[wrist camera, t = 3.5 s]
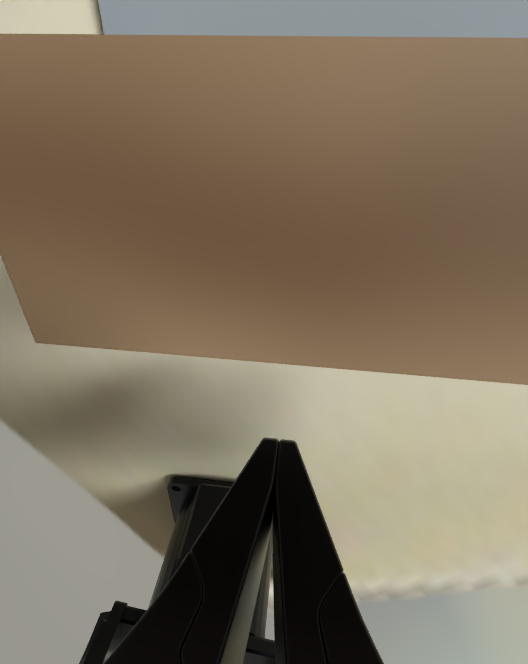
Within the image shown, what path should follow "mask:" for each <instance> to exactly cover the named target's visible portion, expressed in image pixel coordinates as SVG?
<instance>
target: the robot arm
mask: <svg viewBox="0 0 528 664" xmlns="http://www.w3.org/2000/svg"><path fill="white" fill-rule="evenodd" d="M167 488H168V493H169V498H170V502H171V507H172V512H173V517H174V521H175V527H174V530H173V533H172V536H171V539H170V543H169V546H168V549H167V552H166V555H165V558H164V561H163V564H162V567H161V571H160V574H159V577H158V580H157V583H156V586H155V589H154V593H153V595H152V599H151V602H150V605H149V608H148V610H142V609H138V608H134V607H130V606H127V603H124V602H120V601H115V603H114V606H113V608H112V610H111V611H109V612H103V613H101V614H100V617H99V619H98V621H97V623H96V626H95V628H94V631H93V633H92V636H91V638H90V641H89V643H88V645H87V648H86V650H85V652H84V655H83V657H82V659H81V661H80V663H79V664H384V663H383V661H382V659H381V657H380V655H379V653H378V651H377V649H376V647H375V644H374V642H373V640H372V638H371V636H370V634H369V631H368V630H367V627H366V625H365V623H364V621H363V619H362V616H361V614H360V611H359V609H358V606H357V604H356V601H355V599H354V596H353V594H352V591H351V588H350V586H349V583H348V580H347V578H346V575H345V574H344V573H343V567H342V565H341V562H340V559H339V557H338V554H337V551H336V549H335V546H334V543H333V541H332V538H331V535H330V532H329V530H328V527H327V524H326V522H325V519H324V516H323V514H322V511H321V508H320V505H319V503H318V500H317V497H316V495H315V492H314V489H313V487H312V484H311V481H310V479H309V476H308V473H307V470H306V468H305V465H304V462H303V460H302V457H301V454H300V452H299V449H298V446H297V444H296V442H295V441H293V440H284V439H282V440H280V441H279V440H278V439H274V438H263V439H262V441H261V442H260V444H259V445H258V447H257V448H256V450H255V451H254V453H253V454H252V456H251V457H250V459H249V460H248V462H247V463H246V465H245V467H244V468H243V470H242V471H241V473H240V474H239V476H238V477H237V479H236V480H235V482H234V483H226V482H217V481H208V480H200V479H191V478H182V477H172V478H171V479H170V481H169V483H168V487H167ZM272 556H273V584H274V627H275V629H274V630H275V641H273V640H269V639H265V628H266V618H267V607H268V596H269V586H270V575H271V565H272Z"/></svg>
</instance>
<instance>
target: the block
mask: <svg viewBox="0 0 528 664" xmlns="http://www.w3.org/2000/svg"><path fill="white" fill-rule="evenodd" d="M0 254H1V256H2V259H3V262H4V264H5V267H6V269H7V272H8V274H9V277H10V279H11V282H12V284H13V287H14V289H15V292H16V294H17V297H18V299H19V302H20V304H21V307H22V309H23V312H24V315H25V317H26V320H27V322H28V325H29V327H30V330H31V332H32V335H33V337H34V340H35V342H36V343H45V344H57V345H68V346H80V347H92V348H104V349H115V350H127V351H139V352H150V353H162V354H174V355H185V356H197V357H209V358H220V359H232V360H244V361H256V362H267V363H279V364H291V365H302V366H314V367H326V368H337V369H349V370H361V371H372V372H384V373H396V374H407V375H419V376H431V377H443V378H454V379H466V380H478V381H489V382H501V383H513V384H524V385H528V38H483V37H353V36H223V35H92V34H0Z"/></svg>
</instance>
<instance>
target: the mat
mask: <svg viewBox="0 0 528 664" xmlns="http://www.w3.org/2000/svg"><path fill="white" fill-rule="evenodd" d="M98 3H99V9H100V15H101V20H102V26H103V32H104V35H223V36H353V37H483V38H528V0H98Z"/></svg>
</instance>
